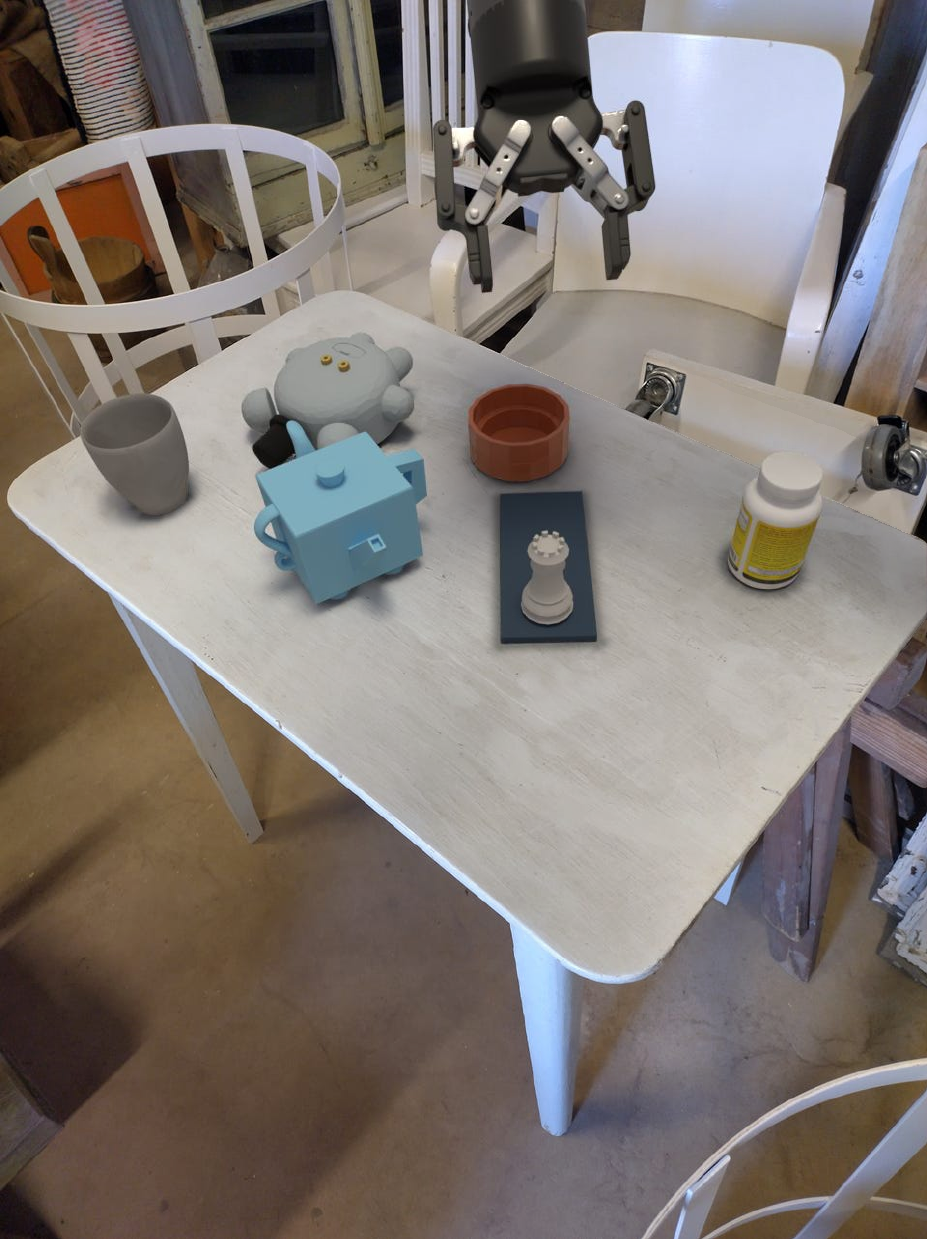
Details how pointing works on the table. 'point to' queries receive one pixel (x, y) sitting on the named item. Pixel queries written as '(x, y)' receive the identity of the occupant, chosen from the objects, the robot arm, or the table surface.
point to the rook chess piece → (547, 581)
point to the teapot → (342, 512)
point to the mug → (140, 451)
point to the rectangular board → (517, 531)
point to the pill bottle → (776, 521)
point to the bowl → (519, 432)
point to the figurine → (331, 396)
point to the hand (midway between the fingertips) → (551, 283)
